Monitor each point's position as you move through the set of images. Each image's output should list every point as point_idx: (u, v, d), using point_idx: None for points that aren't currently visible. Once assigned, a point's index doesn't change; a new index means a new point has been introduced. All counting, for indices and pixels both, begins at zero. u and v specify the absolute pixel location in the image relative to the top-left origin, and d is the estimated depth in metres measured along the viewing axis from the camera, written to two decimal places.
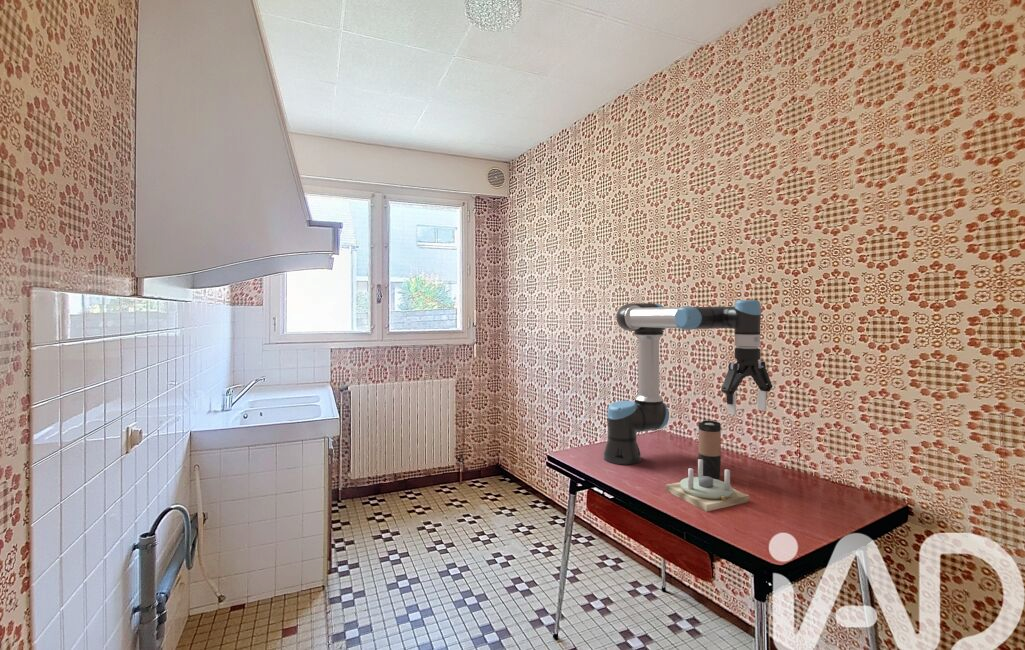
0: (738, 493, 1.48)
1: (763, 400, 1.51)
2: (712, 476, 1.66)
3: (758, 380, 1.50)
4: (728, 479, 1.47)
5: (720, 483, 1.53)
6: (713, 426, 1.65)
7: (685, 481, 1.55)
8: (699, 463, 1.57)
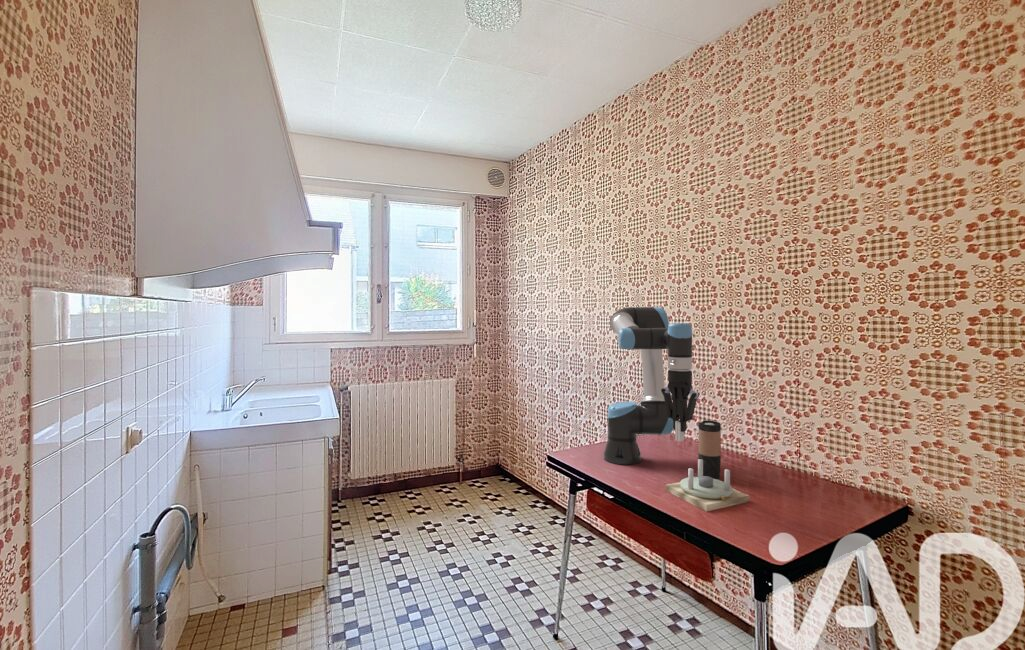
0: (738, 493, 1.48)
1: None
2: (712, 476, 1.66)
3: None
4: (728, 479, 1.47)
5: (720, 483, 1.53)
6: (713, 426, 1.65)
7: (685, 481, 1.55)
8: (699, 463, 1.57)
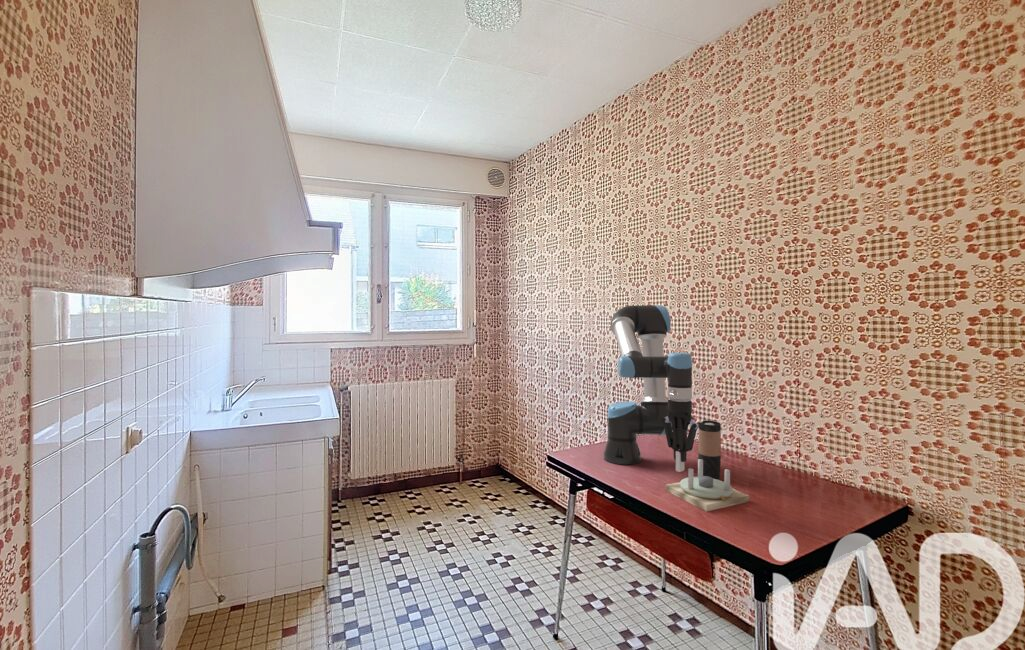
0: (738, 493, 1.48)
1: None
2: (712, 476, 1.66)
3: None
4: (728, 479, 1.47)
5: (720, 483, 1.53)
6: (713, 426, 1.65)
7: (685, 481, 1.55)
8: (699, 463, 1.57)
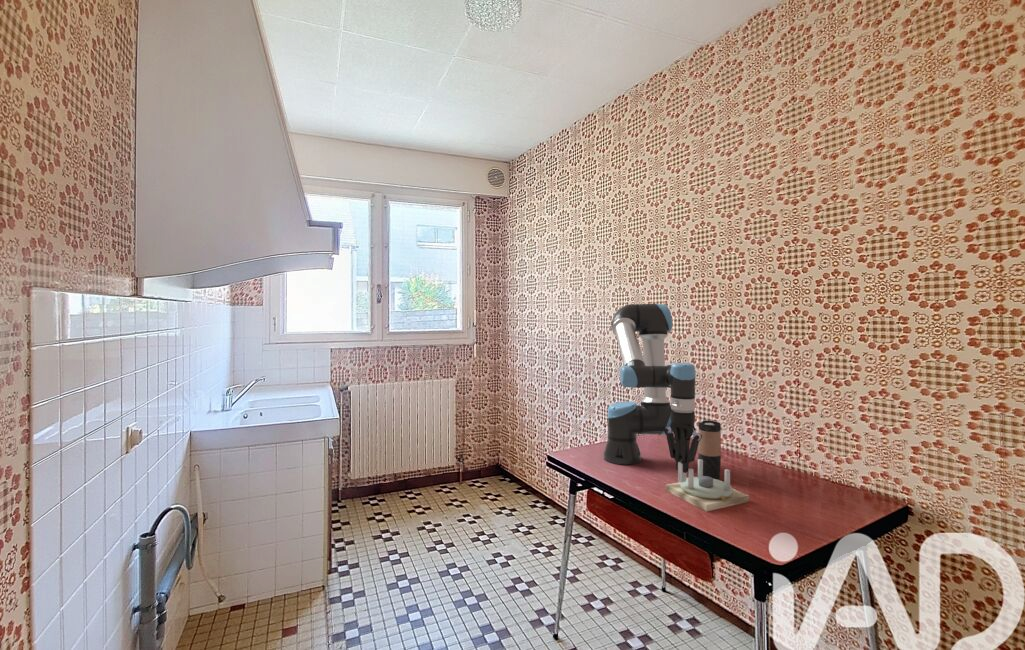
0: (738, 493, 1.48)
1: None
2: (712, 476, 1.66)
3: None
4: (728, 479, 1.47)
5: (720, 483, 1.53)
6: (713, 426, 1.65)
7: (685, 481, 1.55)
8: (699, 463, 1.57)
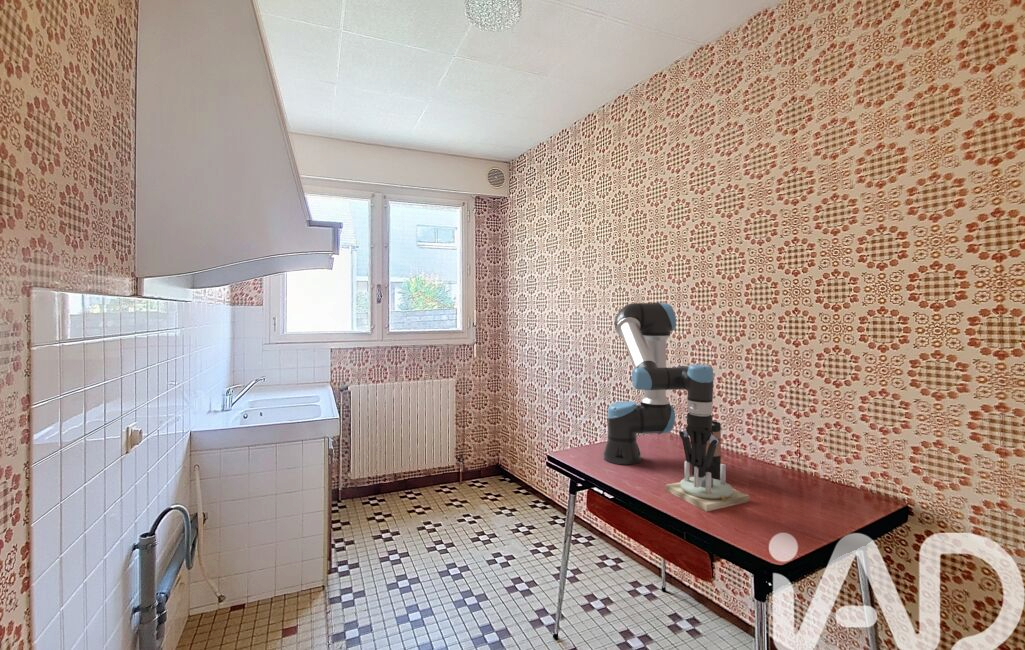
0: (738, 493, 1.48)
1: None
2: (712, 476, 1.66)
3: None
4: (725, 473, 1.52)
5: None
6: (713, 426, 1.65)
7: (689, 487, 1.50)
8: (688, 465, 1.55)
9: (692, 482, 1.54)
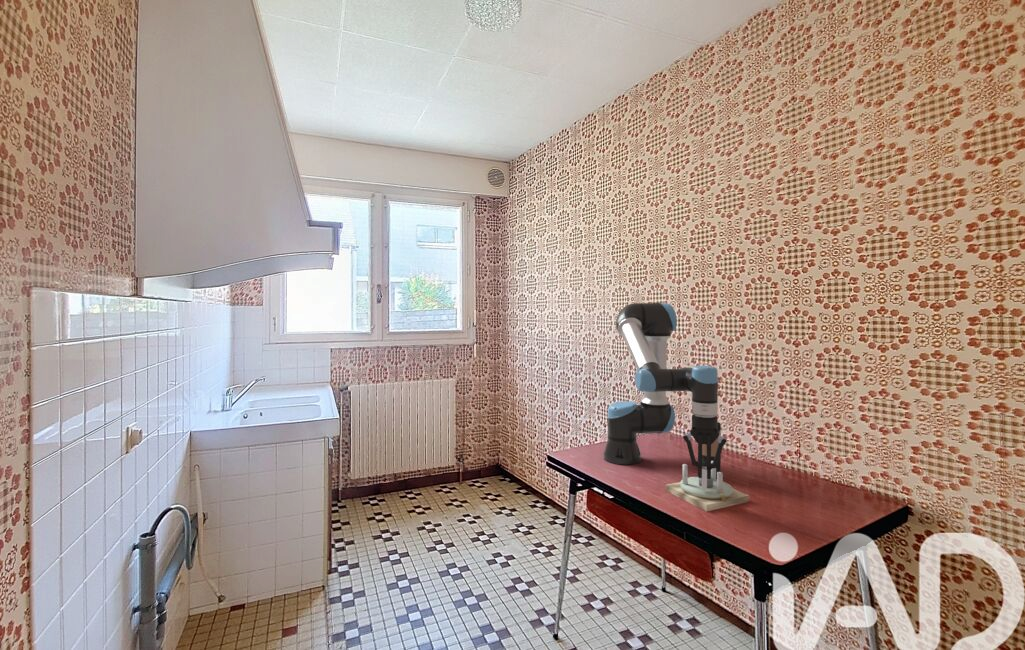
0: (738, 493, 1.48)
1: None
2: None
3: None
4: None
5: (697, 479, 1.57)
6: None
7: (698, 491, 1.47)
8: (687, 468, 1.52)
9: (692, 485, 1.52)
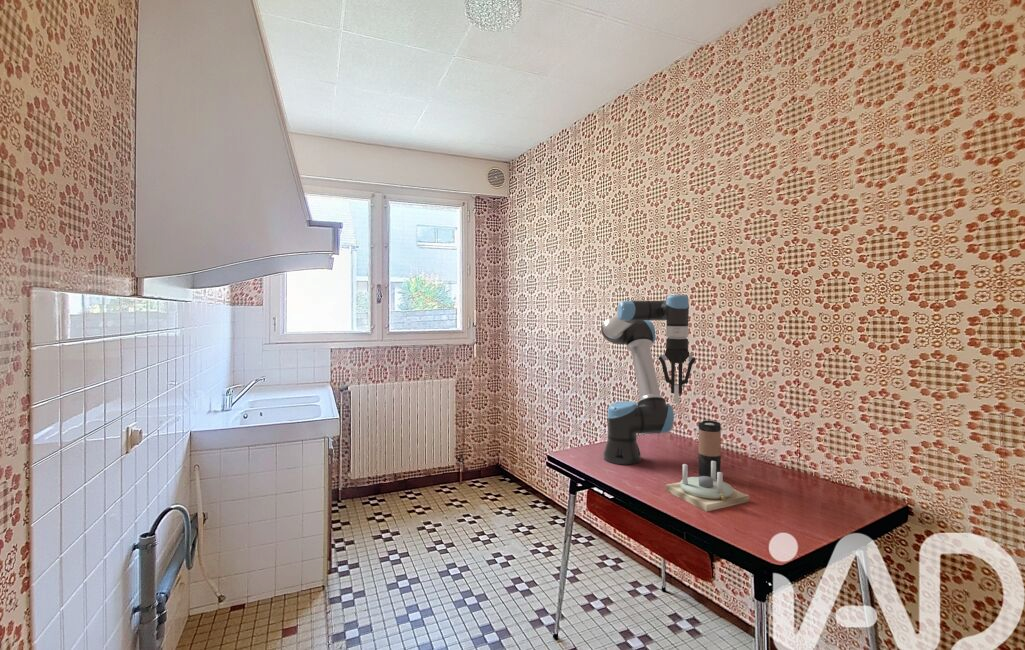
0: (738, 493, 1.48)
1: None
2: None
3: None
4: None
5: (697, 479, 1.57)
6: (713, 426, 1.65)
7: (698, 491, 1.47)
8: (687, 468, 1.52)
9: (692, 485, 1.52)
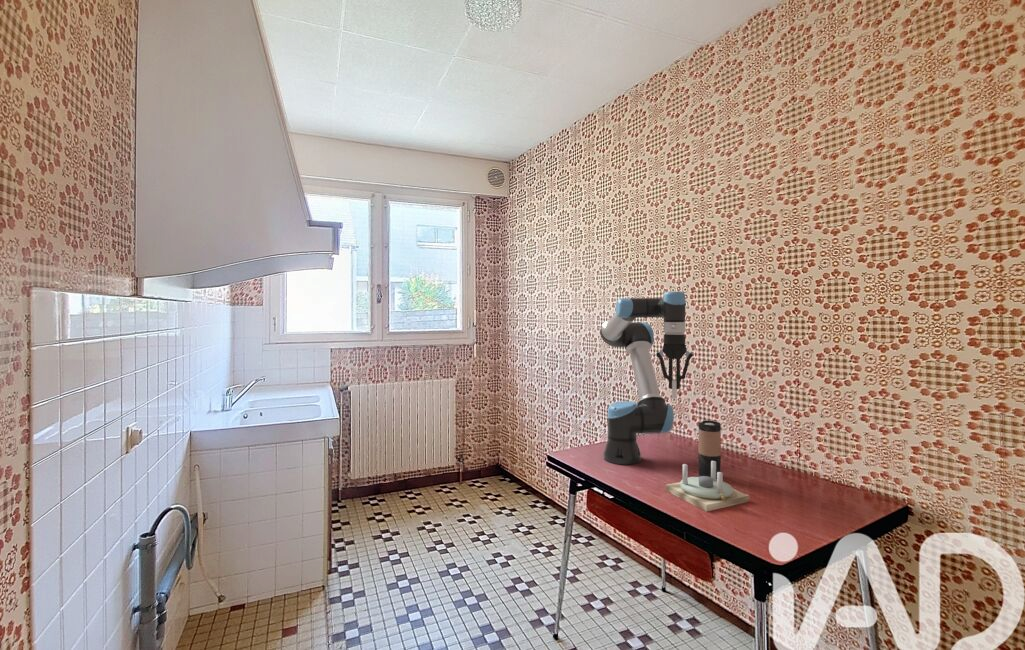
0: (738, 493, 1.48)
1: None
2: None
3: (676, 366, 1.67)
4: None
5: (697, 479, 1.57)
6: (713, 426, 1.65)
7: (698, 491, 1.47)
8: (687, 468, 1.52)
9: (692, 485, 1.52)
